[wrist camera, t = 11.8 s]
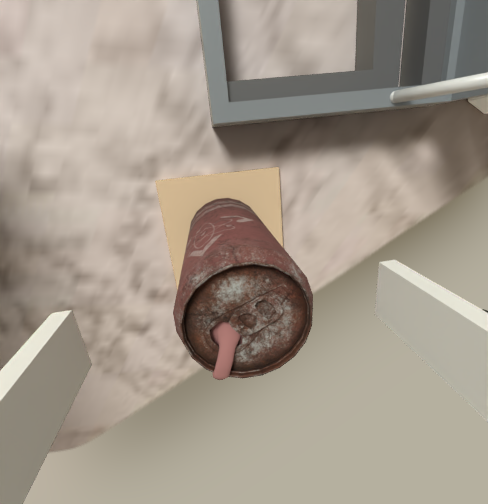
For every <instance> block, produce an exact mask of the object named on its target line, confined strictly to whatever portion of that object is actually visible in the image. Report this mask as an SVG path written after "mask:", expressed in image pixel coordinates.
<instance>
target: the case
mask: <svg viewBox="0 0 488 504" xmlns="http://www.w3.org/2000/svg"><path fill="white" fill-rule="evenodd" d="M196 2H197V10H198V18H199V26H200V34H201V42H202V50H203V58H204V66H205V74H206V82H207V90H208V98H209V106H210V113H211V121H212V127H220V126H230V125H240V124H251V123H261V122H271V121H282V120H292V119H302V118H312V117H323V116H333V115H343V114H354V113H364V112H374V111H384V110H395V109H405V108H415V107H425V106H432V105H437V104H442V103H447V102H452V101H457V100H463V99H469V98H474V97H479V96H484V95H488V0H407V5H406V17H405V29H404V41H403V52H402V64H401V76H400V87H398V82H399V69H400V57H401V45H402V33H403V21H404V9H405V0H358V5H357V33H356V62H355V71H348V72H336V73H324V74H312V75H300V76H288V77H277V78H265V79H253V80H241V81H229V82H227V80H226V70H225V61H224V51H223V41H222V32H221V22H220V12H219V3H218V0H196Z"/></svg>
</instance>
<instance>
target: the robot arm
mask: <svg viewBox="0 0 488 504" xmlns="http://www.w3.org/2000/svg"><path fill="white" fill-rule="evenodd" d="M375 315H376V316H377V317H378V318H379V319H380V320H381V321H382V322H383V323H384V324H385V325H387V327H389V329H391V330H392V331H393V332H394V333H395V334H396V335H397V336H398V337H399V338H400V339H401V340H402V341H403V342H404V343H405V344H407V345H408V347H409V348H410V349H412V350H413V351H414V352H415V353H416V354H417V355H418V356H419V357H420V358H421V359H422V360H423V361H424V362H425V363H427V365H428V366H429V367H431V368H432V369H433V370H434V371H435V372H436V373H437V374H438V375H439V376H440V377H441V378H442V379H443V380H444V381H445V382H446V383H447V384H448V385H449V386H451V388H453V389H454V390H455V391H456V392H457V393H458V394H459V395H460V396H461V397H462V398H463V399H464V400H465V401H466V402H467V403H468V404H469V405H470V406H471V407H472V408H474V409H475V410H476V411H477V412H478V413H479V414H480V415H481V416H482V417H483V418H484V419H485V420H486V421H487V422H488V311H486V310H484V309H480V308H478V307H476V306H475V305H473V304H471V303H469V302H468V301H466V300H464V299H463V298H461V297H459V296H457V295H456V294H454V293H452V292H450V291H449V290H447V289H445V288H443V287H442V286H440V285H438V284H436V283H434V282H433V281H431V280H429V279H428V278H426V277H424V276H422V275H421V274H419V273H417V272H415V271H414V270H412V269H410V268H409V267H407V266H405V265H403V264H402V263H400V262H398V261H396V260H391V261H384V262H379V271H378V283H377V294H376V306H375ZM91 365H92V363H91V360H90V358H89V355H88V352H87V350H86V347H85V344H84V342H83V339H82V336H81V333H80V331H79V328H78V325H77V323H76V320H75V317H74V314H73V312H72V310H69V311H63V312H56V313H51V315H50V316H49V317H48V318H47V319H46V320H45V321H44V322H43V324H42V325H41V326H40V327H39V328H38V329H37V330H36V331H35V332H34V334H33V335H32V336H31V337H30V338H29V339H28V340H27V341H26V343H25V344H24V345H23V346H22V347H21V348H20V349H19V350H18V352H17V353H16V354H15V355H14V356H13V357H12V358H11V359H10V361H9V362H8V363H7V364H6V365H5V366H4V367H3V368H2V369H1V371H0V504H23V502H24V500H25V498H26V496H27V494H28V492H29V490H30V488H31V486H32V484H33V482H34V480H35V478H36V476H37V474H38V472H39V470H40V468H41V466H42V464H43V462H44V460H45V458H46V456H47V454H48V452H49V450H50V448H51V446H52V444H53V442H54V440H55V438H56V436H57V434H58V432H59V430H60V428H61V426H62V424H63V422H64V420H65V418H66V416H67V414H68V412H69V410H70V407H71V405H72V403H73V401H74V399H75V397H76V395H77V393H78V391H79V389H80V387H81V385H82V383H83V381H84V379H85V377H86V375H87V373H88V371H89V369H90V367H91Z"/></svg>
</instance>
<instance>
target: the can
mask: <svg viewBox="0 0 488 504" xmlns="http://www.w3.org/2000/svg"><path fill="white" fill-rule="evenodd" d="M312 307H313V294H312V291H311V289H310V286H309V283H308V280H307V277H306V276H305V275H304V273H303V272H302V271H301V270H300V268H299V267H298V266H297V265H296V263H295V262H294V261H293V260H292V258H291V257H290V256H289V255H288V253H287V252H286V251H285V250H284V248H283V247H282V246H281V245H280V243H279V242H278V241H277V240H276V238H275V237H274V236H273V235H272V233H271V232H270V231H269V230H268V228H267V227H266V226H265V225H264V223H263V222H262V221H261V220H260V218H259V217H258V216H257V215H256V213H255V212H254V211H253V210H252V209H251V208H250V206H248V205H246V204H245V203H243V202H241V201H240V200H235V199H231V198H221V199H215V200H213V201H211V202H208V203H206V204H205V205H204V206H202V207H201V208H200V209H199V210H198V211H197V212H196V214H195V215H194V217H193V219H192V221H191V225H190V230H189V235H188V240H187V245H186V250H185V255H184V260H183V265H182V270H181V275H180V280H179V285H178V290H177V296H176V301H175V306H174V311H173V315H174V320H175V326H176V331H177V333H178V335H179V337H180V338H181V340H182V342H183V344H184V345H185V347H186V349H187V350H188V352H189V354H190V355H191V357H192V358H193V359H194V360H195V361H196V362H198V363H199V364H200V365H201V366H203V367H204V368H205V369H206V370H209V371H211V372H213V377H214V378H215V379H218V380H223V379H225V378H227V377H236V378H247V377H254V376H260V375H264V374H266V373H268V372H271V371H273V370H275V369H278V368H280V367H281V366H283V365H284V364H285V363H287V362H288V361H289V360H290V359H292V358H293V357H294V356H295V355H296V354H297V353H298V351H299V350H300V348H301V347H302V346H303V345H304V344H305V342H306V340H307V337H308V335H309V332H310V329H311V326H312V309H313V308H312Z"/></svg>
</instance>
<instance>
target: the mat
mask: <svg viewBox="0 0 488 504" xmlns="http://www.w3.org/2000/svg"><path fill="white" fill-rule="evenodd" d="M155 182H156V187H157V192H158V197H159V202H160V207H161V212H162V217H163V222H164V227H165V231H166V236H167V241H168V246H169V251H170V256H171V261H172V266H173V271H174V276H175V281H176V286H177V290H178V285H179V280H180V275H181V270H182V265H183V260H184V255H185V250H186V245H187V240H188V235H189V230H190V225H191V221H192V219H193V217H194V215H195V214H196V212H197V211H198V210H199V209H200V208H201V207H202V206H204V205H205V204H206V203H208V202H211V201H213V200H215V199H221V198H231V199H235V200H240V201H241V202H243V203H245V204H246V205H248V206H250V208H251V209H252V210H253V211H254V212H255V213H256V215H257V216H258V217H259V218H260V220H261V221H262V222H263V223H264V225H265V226H266V227H267V228H268V230H269V231H270V232H271V233H272V235H273V236H274V237H275V238H276V240H277V241H278V242H279V243H280V245H281V246H282V247H283V236H282V217H281V198H280V178H279V167H274V168H265V169H256V170H247V171H238V172H229V173H220V174H211V175H202V176H193V177H185V178H176V179H167V180H158V181H155Z"/></svg>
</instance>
